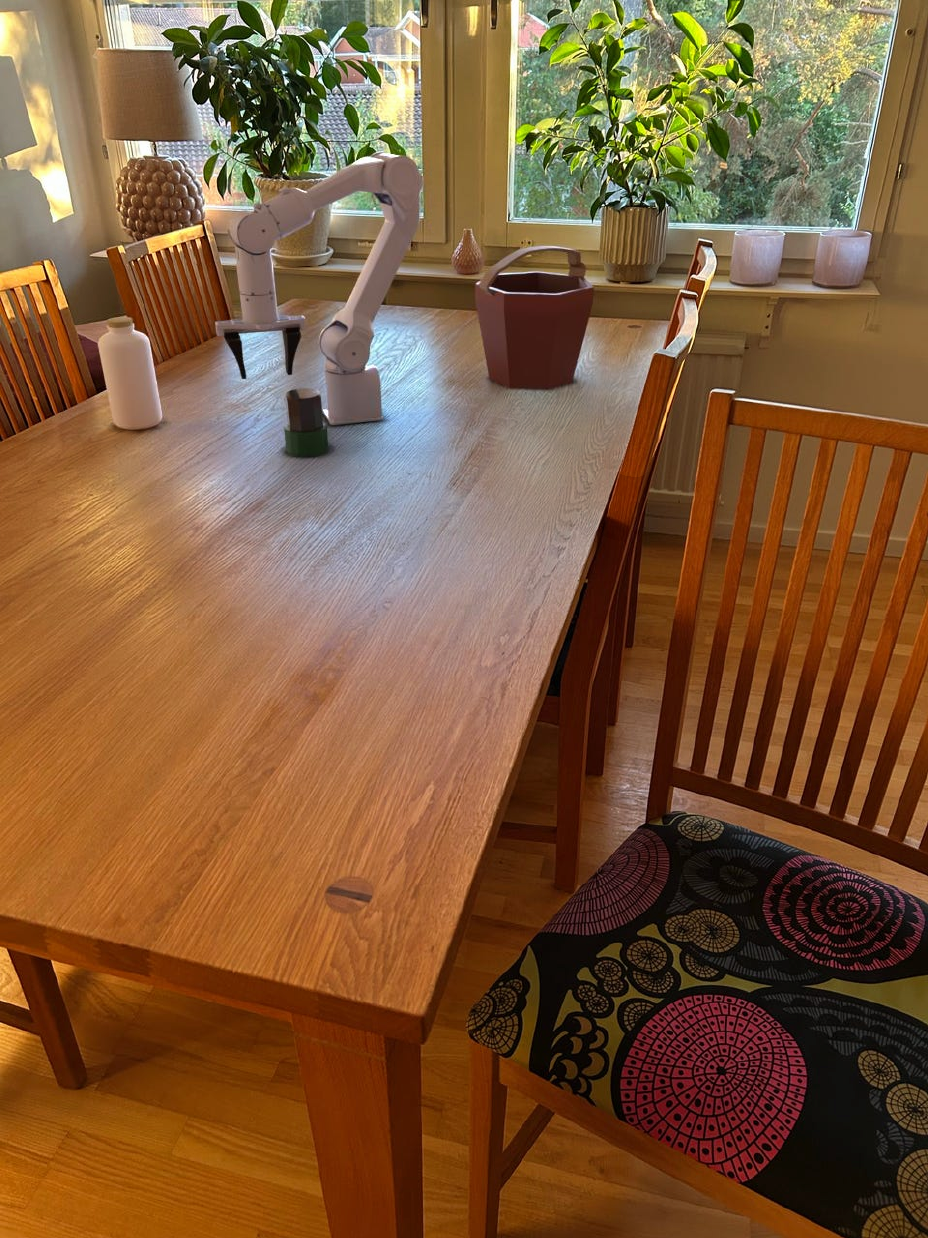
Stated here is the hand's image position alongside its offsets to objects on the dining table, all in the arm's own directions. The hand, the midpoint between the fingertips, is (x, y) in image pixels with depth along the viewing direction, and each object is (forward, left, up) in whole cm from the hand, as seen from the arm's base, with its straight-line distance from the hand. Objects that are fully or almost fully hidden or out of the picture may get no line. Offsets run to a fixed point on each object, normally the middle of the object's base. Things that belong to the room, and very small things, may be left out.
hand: (266, 375), depth 157 cm
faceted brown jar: (-4, +12, -5) cm, 14 cm away
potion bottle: (+22, -10, -10) cm, 26 cm away
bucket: (-55, -14, -10) cm, 58 cm away
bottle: (-4, +12, -9) cm, 16 cm away
